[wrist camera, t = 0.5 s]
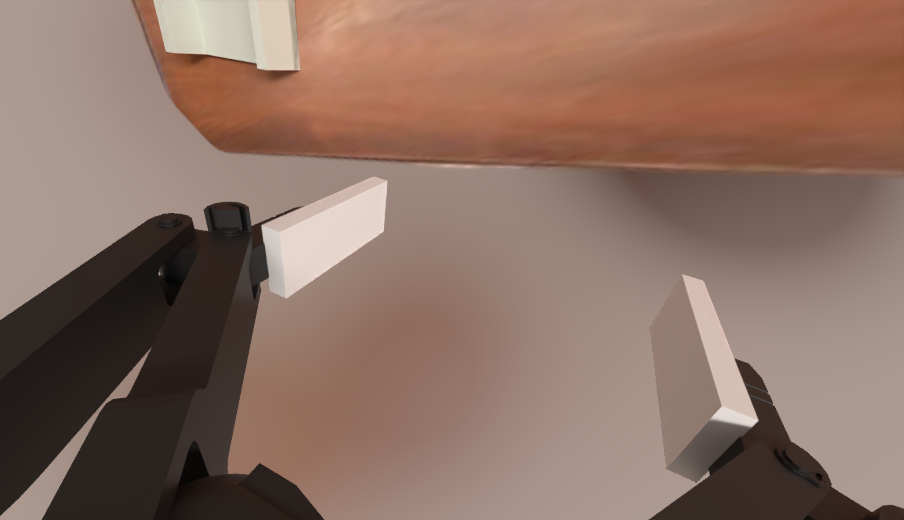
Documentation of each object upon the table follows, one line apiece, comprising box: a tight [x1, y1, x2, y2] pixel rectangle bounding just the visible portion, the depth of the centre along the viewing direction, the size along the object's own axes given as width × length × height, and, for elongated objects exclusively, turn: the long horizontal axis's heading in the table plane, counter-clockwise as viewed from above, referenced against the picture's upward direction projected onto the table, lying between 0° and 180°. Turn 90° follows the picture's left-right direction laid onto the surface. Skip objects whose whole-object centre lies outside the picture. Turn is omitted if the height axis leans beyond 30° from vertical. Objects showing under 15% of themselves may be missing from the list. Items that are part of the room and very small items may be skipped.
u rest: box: [153, 0, 300, 70], centre depth 45 cm, size 9×17×6 cm, turn 82°
